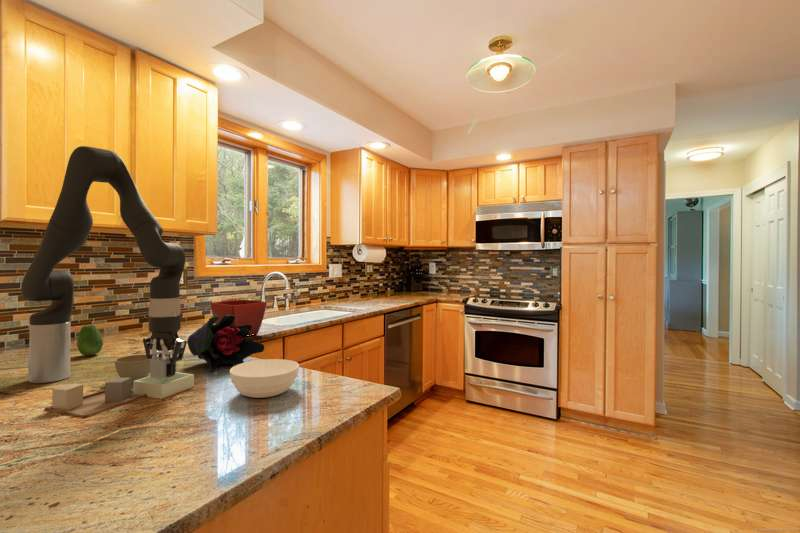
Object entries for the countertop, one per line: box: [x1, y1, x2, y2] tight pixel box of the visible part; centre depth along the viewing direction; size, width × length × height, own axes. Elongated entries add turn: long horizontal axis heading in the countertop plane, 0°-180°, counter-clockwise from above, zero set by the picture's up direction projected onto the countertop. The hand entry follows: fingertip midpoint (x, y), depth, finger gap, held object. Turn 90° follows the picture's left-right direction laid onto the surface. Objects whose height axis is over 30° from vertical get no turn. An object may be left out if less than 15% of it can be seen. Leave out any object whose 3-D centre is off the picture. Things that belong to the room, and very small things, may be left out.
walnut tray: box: [44, 389, 148, 419], centre depth 95 cm, size 14×16×1 cm
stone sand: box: [51, 383, 84, 410], centre depth 92 cm, size 4×4×5 cm
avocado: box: [76, 323, 104, 357], centre depth 144 cm, size 8×8×12 cm
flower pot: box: [114, 353, 150, 384], centre depth 114 cm, size 10×10×7 cm
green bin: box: [132, 371, 195, 400], centre depth 105 cm, size 10×10×4 cm
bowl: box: [229, 358, 300, 399], centre depth 105 cm, size 18×18×7 cm
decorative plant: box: [186, 314, 265, 372], centre depth 130 cm, size 21×26×30 cm
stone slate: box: [149, 355, 172, 379], centre depth 104 cm, size 4×4×5 cm
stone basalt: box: [104, 377, 133, 402], centre depth 97 cm, size 4×4×5 cm
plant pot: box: [210, 299, 267, 335], centre depth 186 cm, size 19×19×17 cm
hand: (164, 375), depth 105 cm, fingers closed on stone slate, 4 cm apart
